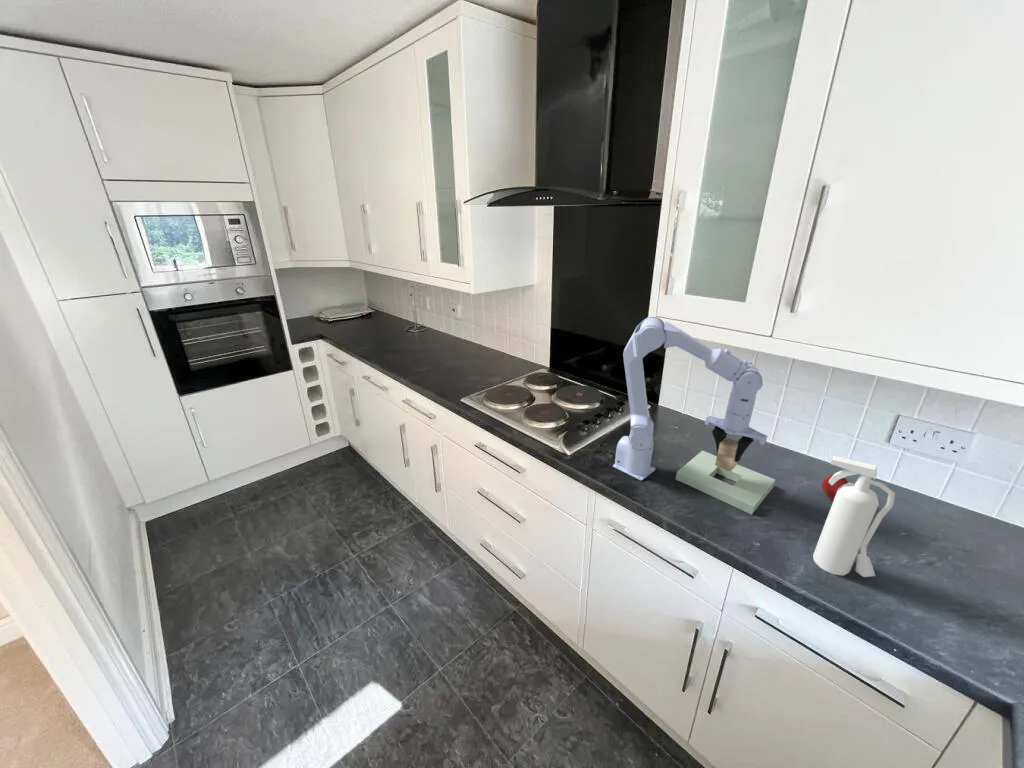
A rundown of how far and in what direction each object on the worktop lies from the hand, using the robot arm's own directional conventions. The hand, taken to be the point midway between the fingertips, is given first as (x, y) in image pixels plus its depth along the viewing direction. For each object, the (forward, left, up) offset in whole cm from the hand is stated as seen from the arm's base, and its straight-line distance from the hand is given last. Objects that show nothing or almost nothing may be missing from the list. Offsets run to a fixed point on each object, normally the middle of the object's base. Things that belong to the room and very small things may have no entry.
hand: (728, 456), depth 112 cm
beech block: (0, -1, -2) cm, 3 cm away
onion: (+22, +16, -10) cm, 29 cm away
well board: (0, +2, -9) cm, 9 cm away
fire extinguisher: (+28, -10, -10) cm, 31 cm away
